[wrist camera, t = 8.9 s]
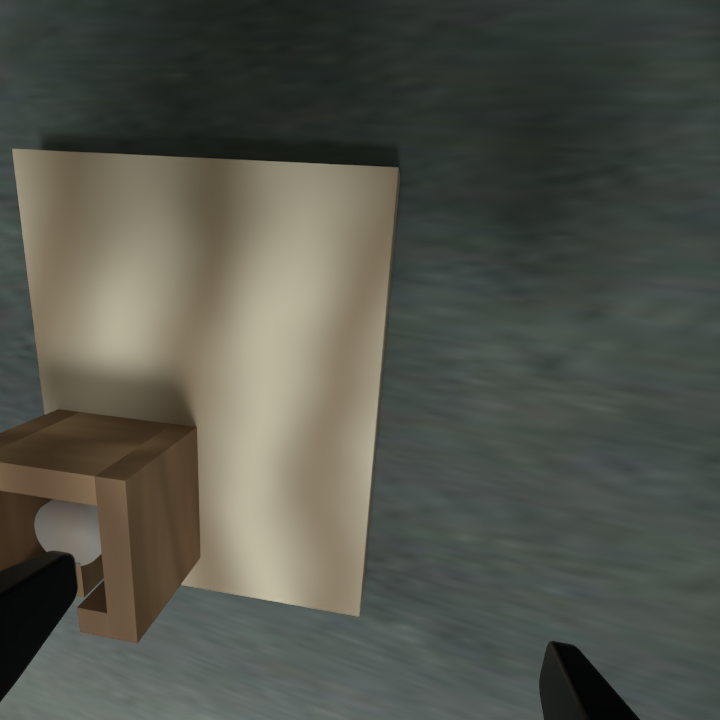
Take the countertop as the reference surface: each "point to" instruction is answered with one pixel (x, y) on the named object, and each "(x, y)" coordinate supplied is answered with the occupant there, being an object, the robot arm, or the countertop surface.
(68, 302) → the plate
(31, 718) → the countertop surface
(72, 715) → the countertop surface
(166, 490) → the slotted channel bracket
